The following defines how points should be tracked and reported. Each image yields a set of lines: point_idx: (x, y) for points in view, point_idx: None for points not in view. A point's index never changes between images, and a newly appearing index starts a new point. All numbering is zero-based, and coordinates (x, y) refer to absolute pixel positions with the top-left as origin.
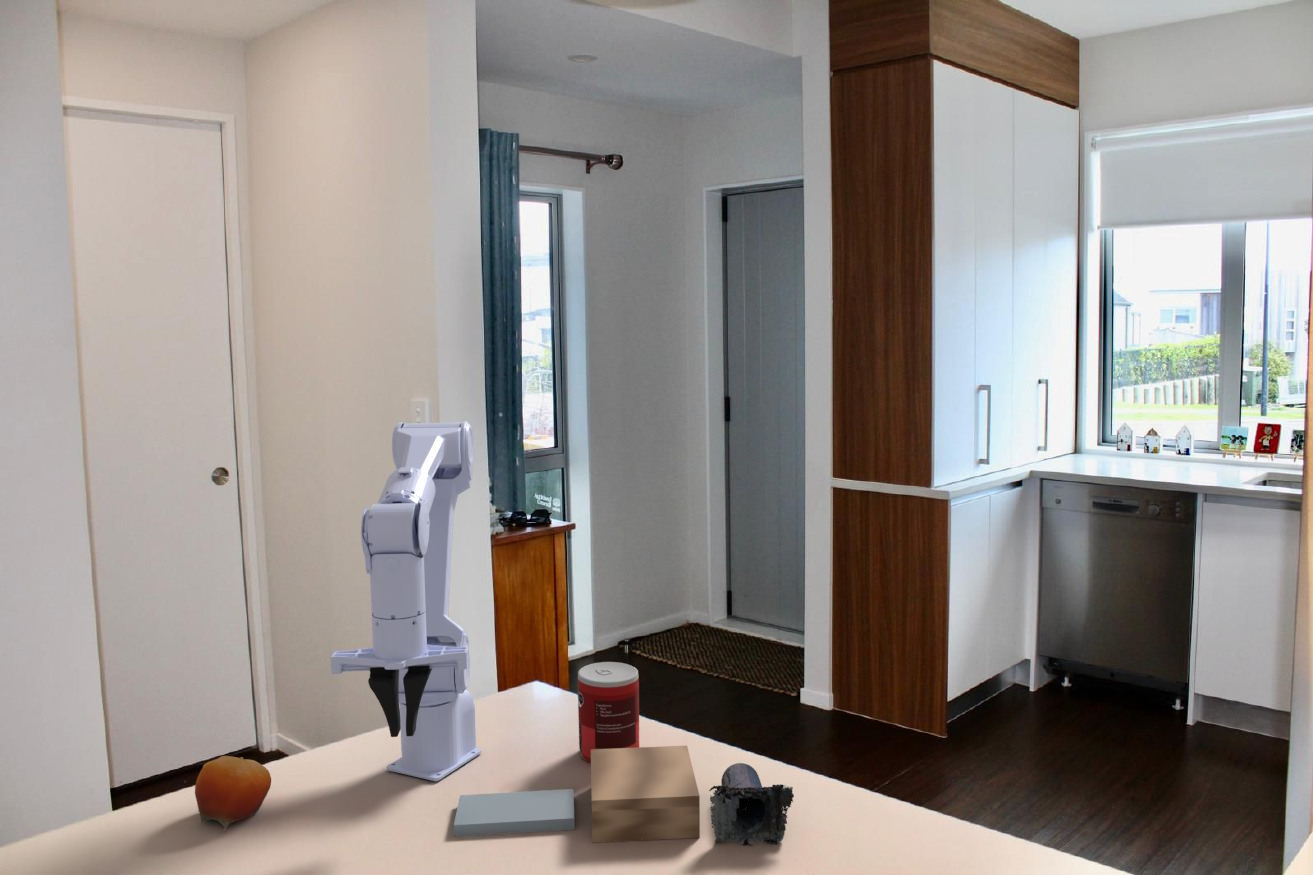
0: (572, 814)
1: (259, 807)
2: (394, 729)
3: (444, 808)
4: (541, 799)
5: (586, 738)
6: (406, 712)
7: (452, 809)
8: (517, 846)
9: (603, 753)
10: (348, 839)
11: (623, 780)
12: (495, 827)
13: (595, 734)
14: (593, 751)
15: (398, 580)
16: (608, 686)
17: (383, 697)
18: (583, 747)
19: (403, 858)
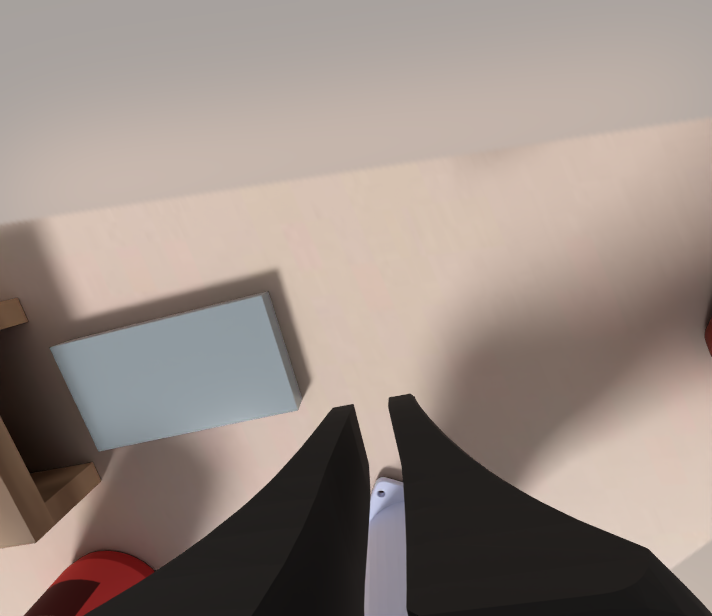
0: (59, 361)
1: (707, 333)
2: (397, 407)
3: (328, 387)
4: (138, 409)
5: None
6: (330, 458)
7: (311, 385)
8: (139, 270)
9: (1, 528)
10: (468, 254)
11: None
12: (190, 311)
13: (77, 612)
14: (26, 535)
15: None
16: None
17: (471, 498)
18: None
19: (330, 198)
